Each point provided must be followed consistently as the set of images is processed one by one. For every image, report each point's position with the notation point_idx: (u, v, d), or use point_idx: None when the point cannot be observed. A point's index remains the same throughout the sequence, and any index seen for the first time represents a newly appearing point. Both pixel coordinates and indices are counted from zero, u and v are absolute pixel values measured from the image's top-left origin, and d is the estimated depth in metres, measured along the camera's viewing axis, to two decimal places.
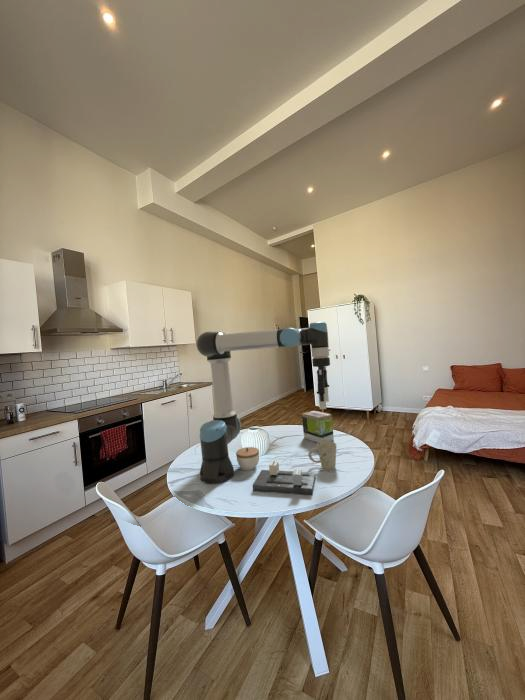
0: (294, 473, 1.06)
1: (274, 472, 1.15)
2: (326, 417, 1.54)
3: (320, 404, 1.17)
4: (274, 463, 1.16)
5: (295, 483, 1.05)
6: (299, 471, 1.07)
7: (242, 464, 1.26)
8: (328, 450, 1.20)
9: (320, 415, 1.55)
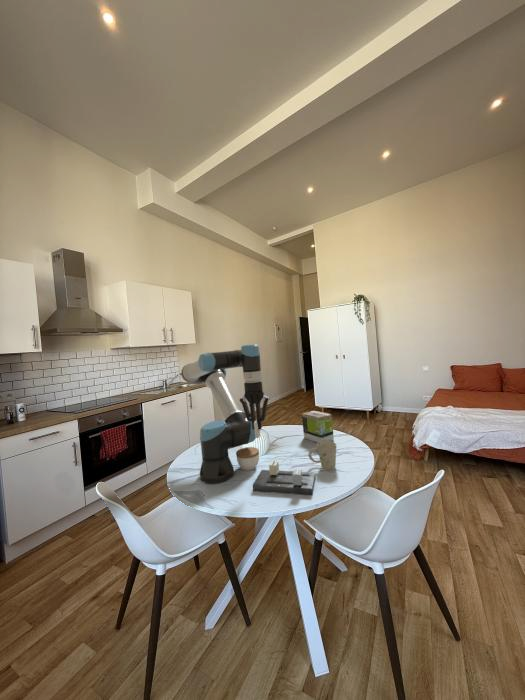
0: (294, 473, 1.06)
1: (274, 472, 1.15)
2: (326, 417, 1.54)
3: None
4: (274, 463, 1.16)
5: (295, 483, 1.05)
6: (299, 471, 1.07)
7: (242, 464, 1.26)
8: (328, 450, 1.20)
9: (320, 415, 1.55)
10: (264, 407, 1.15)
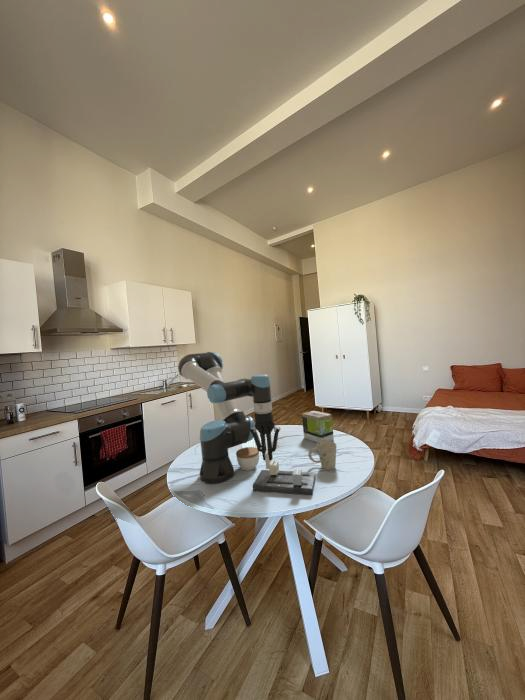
0: (294, 473, 1.06)
1: (274, 472, 1.15)
2: (326, 417, 1.54)
3: None
4: (274, 463, 1.16)
5: (295, 483, 1.05)
6: (299, 471, 1.07)
7: (242, 464, 1.26)
8: (328, 450, 1.20)
9: (320, 415, 1.55)
10: (275, 438, 1.15)
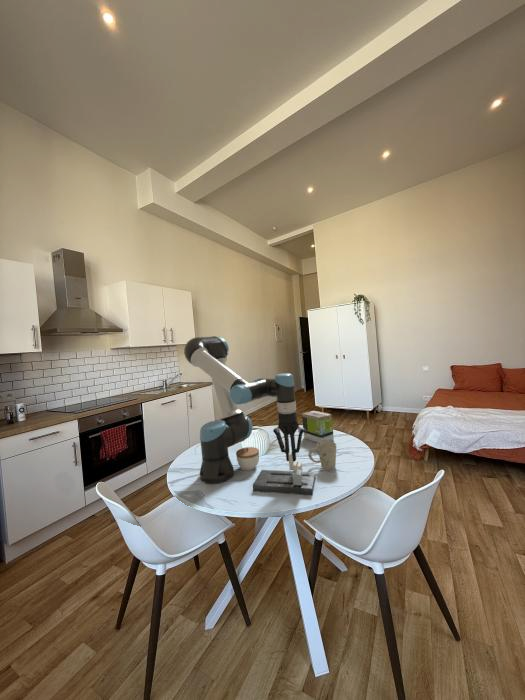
0: (294, 473, 1.06)
1: None
2: (326, 417, 1.54)
3: None
4: (298, 464, 1.14)
5: (295, 483, 1.05)
6: (299, 471, 1.07)
7: (242, 464, 1.26)
8: (328, 450, 1.20)
9: (320, 415, 1.55)
10: (299, 439, 1.12)
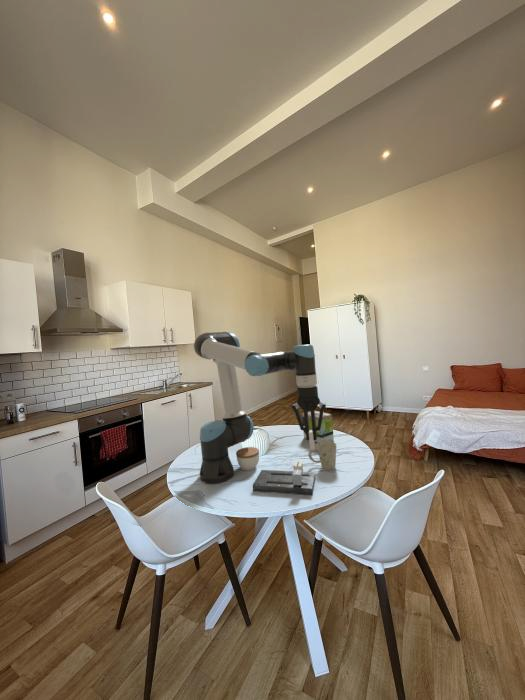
0: (294, 473, 1.06)
1: None
2: (326, 417, 1.54)
3: None
4: (298, 464, 1.13)
5: (295, 483, 1.05)
6: (299, 471, 1.07)
7: (242, 464, 1.26)
8: (328, 450, 1.20)
9: None
10: (321, 415, 1.02)
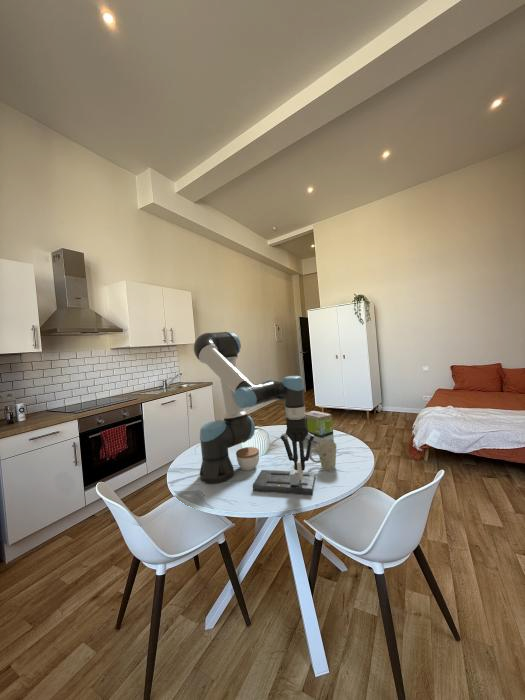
0: (291, 473, 1.06)
1: None
2: (326, 417, 1.54)
3: None
4: None
5: (292, 483, 1.06)
6: (296, 471, 1.08)
7: (242, 464, 1.26)
8: (328, 450, 1.20)
9: (320, 415, 1.55)
10: (309, 446, 1.04)
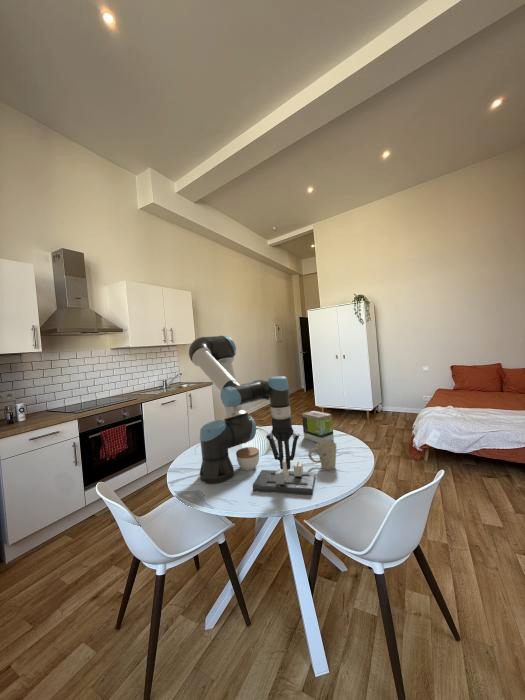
0: (277, 472, 1.08)
1: (299, 473, 1.12)
2: (326, 417, 1.54)
3: None
4: (298, 464, 1.13)
5: (278, 482, 1.07)
6: (282, 470, 1.09)
7: (242, 464, 1.26)
8: (328, 450, 1.20)
9: (320, 415, 1.55)
10: (294, 446, 1.06)
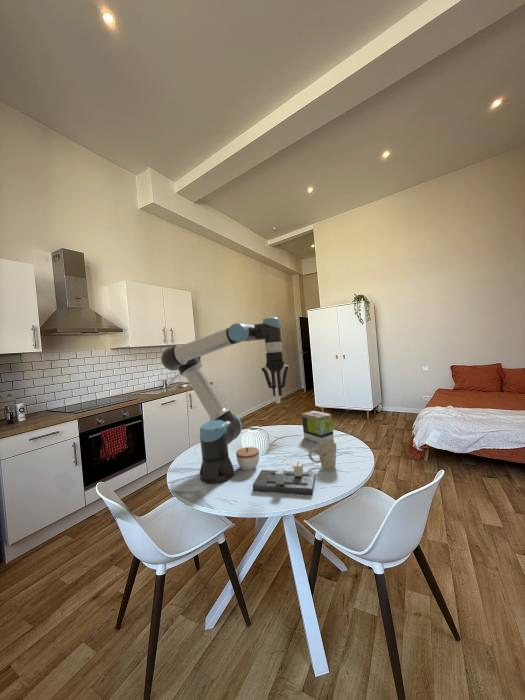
0: (277, 472, 1.08)
1: (299, 473, 1.12)
2: (326, 417, 1.54)
3: None
4: (298, 464, 1.13)
5: (278, 482, 1.07)
6: (282, 470, 1.09)
7: (242, 464, 1.26)
8: (328, 450, 1.20)
9: (320, 415, 1.55)
10: (284, 375, 1.26)
